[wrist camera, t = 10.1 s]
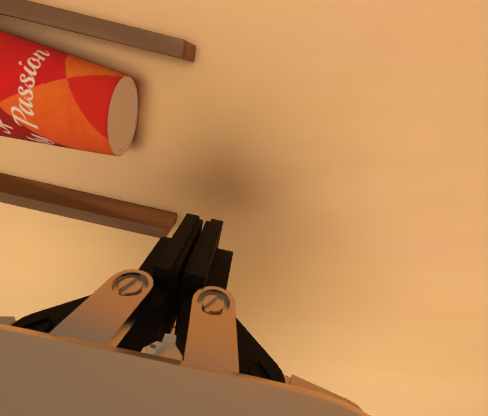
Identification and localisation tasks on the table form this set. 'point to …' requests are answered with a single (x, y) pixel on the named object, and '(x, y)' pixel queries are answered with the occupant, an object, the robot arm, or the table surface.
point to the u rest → (71, 201)
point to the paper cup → (64, 99)
